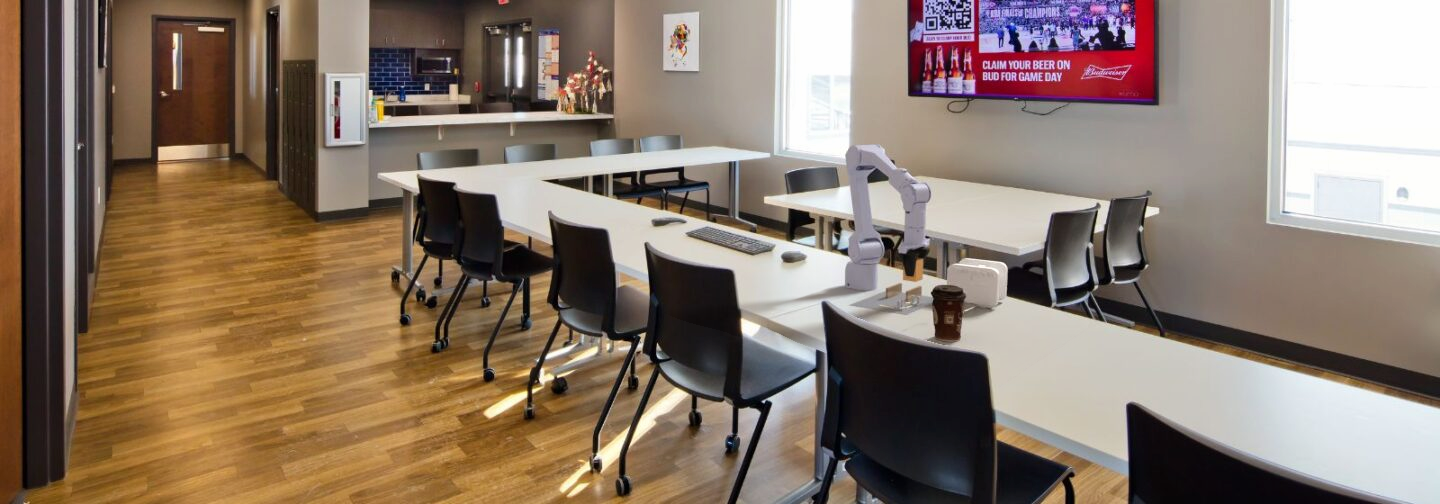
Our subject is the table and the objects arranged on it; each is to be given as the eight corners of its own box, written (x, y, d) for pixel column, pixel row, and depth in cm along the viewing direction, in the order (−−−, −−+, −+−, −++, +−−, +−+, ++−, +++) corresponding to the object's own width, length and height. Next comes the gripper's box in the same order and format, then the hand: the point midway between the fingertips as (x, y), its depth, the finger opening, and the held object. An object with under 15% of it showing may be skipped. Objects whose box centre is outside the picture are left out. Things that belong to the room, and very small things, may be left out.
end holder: (885, 298, 268) (885, 288, 267) (899, 292, 274) (899, 283, 273) (908, 301, 263) (908, 291, 263) (921, 296, 269) (921, 286, 269)
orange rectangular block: (902, 280, 260) (903, 259, 259) (909, 277, 263) (910, 256, 262) (915, 281, 258) (916, 260, 256) (922, 279, 261) (923, 258, 260)
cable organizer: (1009, 302, 265) (1011, 262, 263) (995, 310, 257) (997, 269, 254) (959, 295, 274) (960, 257, 271) (944, 303, 266) (945, 263, 263)
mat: (848, 308, 261) (849, 296, 260) (887, 293, 278) (887, 281, 277) (906, 318, 250) (906, 305, 249) (943, 302, 266) (943, 289, 266)
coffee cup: (924, 340, 229) (926, 289, 227) (933, 332, 236) (935, 282, 234) (960, 344, 225) (962, 292, 223) (968, 336, 232) (970, 285, 230)
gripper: (915, 231, 249) (914, 281, 252) (940, 224, 260) (938, 271, 263) (892, 229, 254) (891, 277, 256) (917, 222, 265) (916, 268, 267)
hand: (913, 274), depth 260 cm, fingers closed on orange rectangular block, 4 cm apart
